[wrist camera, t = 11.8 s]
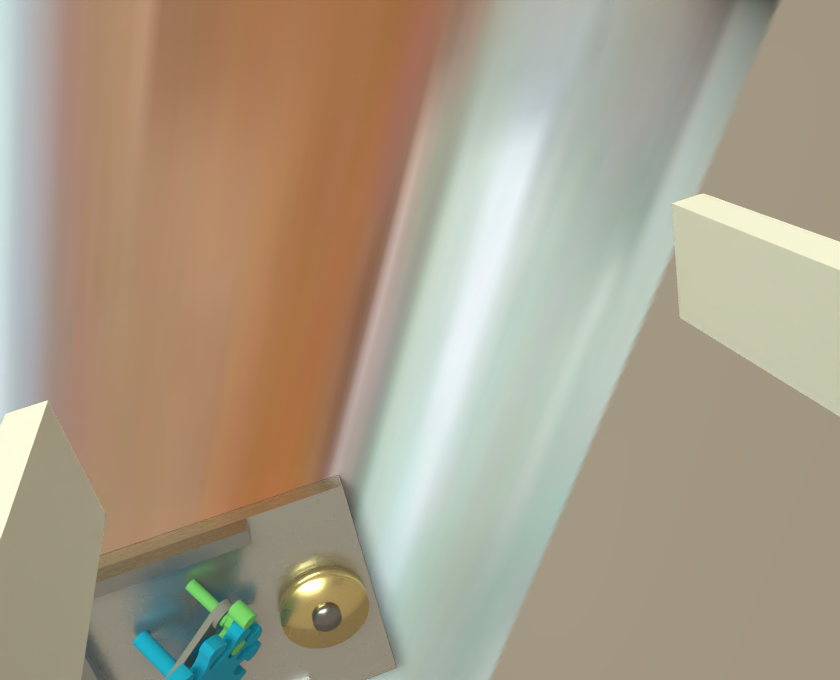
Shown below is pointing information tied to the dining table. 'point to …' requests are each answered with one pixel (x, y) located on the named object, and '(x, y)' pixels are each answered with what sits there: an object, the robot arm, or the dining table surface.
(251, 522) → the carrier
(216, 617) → the gear
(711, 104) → the dining table surface
